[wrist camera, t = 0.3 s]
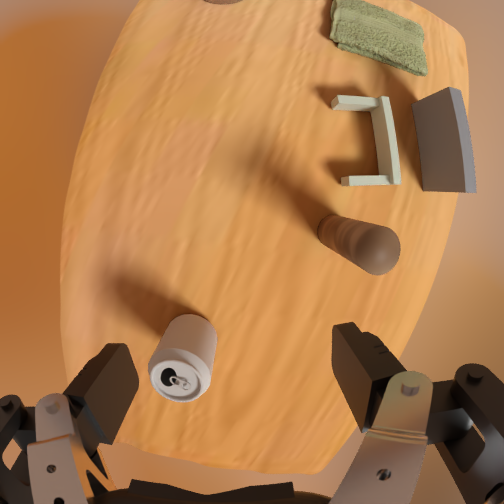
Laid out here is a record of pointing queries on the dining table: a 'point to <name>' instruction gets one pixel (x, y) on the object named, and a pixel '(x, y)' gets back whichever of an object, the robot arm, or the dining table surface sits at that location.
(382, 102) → the bracket
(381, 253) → the dowel
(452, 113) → the wall
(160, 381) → the can
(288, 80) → the dining table surface
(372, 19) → the washcloth
